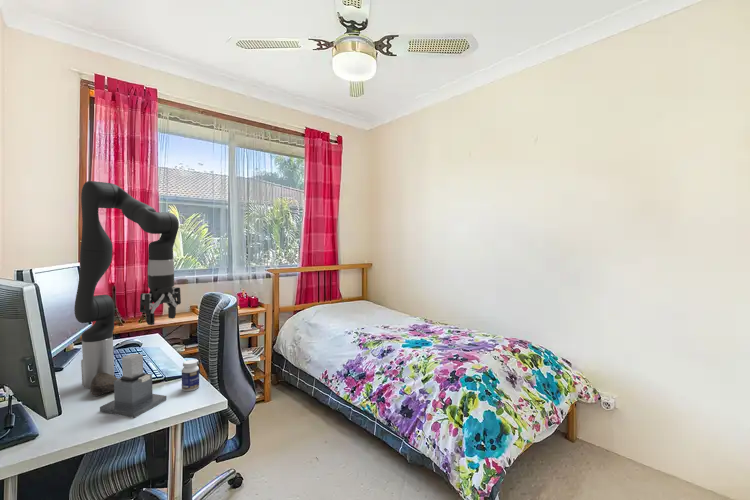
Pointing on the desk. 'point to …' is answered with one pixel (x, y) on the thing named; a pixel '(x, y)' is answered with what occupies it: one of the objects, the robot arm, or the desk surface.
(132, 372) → the column
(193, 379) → the pill bottle
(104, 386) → the stone
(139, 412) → the stand
